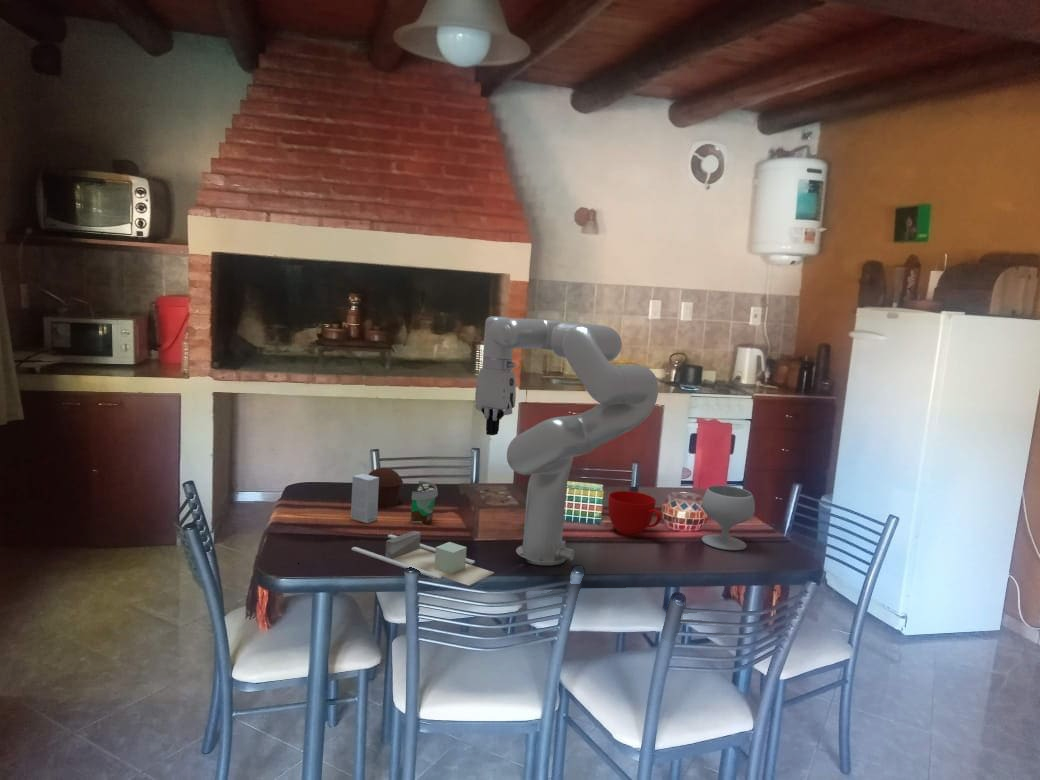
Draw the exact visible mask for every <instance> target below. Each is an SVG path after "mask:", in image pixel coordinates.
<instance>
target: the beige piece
mask: <svg viewBox="0 0 1040 780" xmlns="http://www.w3.org/2000/svg"><path fill="white" fill-rule="evenodd" d="M421 534H422V533H421V532H420V531H416V530H413V531H409V532H407V533H404V534H402V535H399V536H398V535H397V536H398V537H395V538H389V539H388V540H386V542H385V556H384V557H387V558H390V559H393V560H396V561H399V562H402V563H404V564H407V565H410V566H413V567H416V568H419V569H422V570H425V571H428V572H431V573H434V574H437V575H440V576H442V578H445V579H448V580H451V581H454V582H456V583H460V584H462V585H466V586H468V587H469V586H471V585H473V584H475V583H477V582H479V581H481V580H482V579H485V578H487V577H490V576H492V575H493V574H495V572H494V571H490V570H487V569H486V568H485V569H484V568H482V567H479V566H476V565H473V564H470V563H467V562H466V563H465V568H464V569H462V570H460V571H458V572H456V573H454V574H450V573H447V572H444V571H441V570H438V569H435V568H434V565H435V552H433V551H430V550H426V549H423V548H420V544H421ZM491 579H494V576H492V577H490V578H487V579H486V580H484V581H482V582H480V583H478V584H477V585H474V586H472V587H471V589H473V588H476V587H477V586H480V585H481V584H483V583H485V582H487V581H489V580H491Z"/></svg>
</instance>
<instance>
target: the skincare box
mask: <svg viewBox="0 0 1040 780" xmlns="http://www.w3.org/2000/svg"><path fill="white" fill-rule="evenodd" d="M351 482H352V486H351V487H352V488H351V503H350V504H351V505H350V520H354V521H357V522H361V523H364V524H369V523H372V522H375V521H377V520H378V511H379V510H378V509H379V507H378V489H379V477H375V476H371V475H368V474H366V473H361V474H356V475H353V476H352V481H351Z"/></svg>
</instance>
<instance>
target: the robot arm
mask: <svg viewBox="0 0 1040 780" xmlns="http://www.w3.org/2000/svg"><path fill="white" fill-rule="evenodd" d="M484 324H485V325H484V334H483V335H484V338H483V351H482V364H481V365H482V366H481V368H479V372H478V376H477V380H476V387H475V395H474V396H475V397H474V401H475V409H476V410H478V411H480V412H482V414H483V415H484V419H485V420H486V421H485V422H486V424H485V431H486V432H485V433H486V436H487V435H488V436H495V435H498V434H499V430H500V420H502V418H503V417H504V416H509V415H513V409H514V408H515V407H516V401H517V400H516V396H517V395H516V394H517V393H516V392H517V391H516V376H515V371H514V370H512V369H515V368H516V366H517V365H516V362H513V352H514V349H515V350H519V349H521V350H522V349H523V350H524V349H535V350H536V349H538V350H539V349H541V350H549V351H552V352H553V354H555V355H556V356H558V357H560V358H564V359H566V361H567V362H568V364H569V366H570V367H571V369H572V370H573V372H574V373H575V375H576V376H577V378H578V379H579V381H580V383H581V384H582V386H583V387H584V389H585V390H586V391H587V393H588V394H589V396H590V397H591V398H592V399H593V400H594V401H596V402H597V403H599V404H597V405H595V406H594V407H592V408H590V409H588V410H586V411H584V412H582V413H579V414H574V415H573V414H572V415H564V416H563V415H562V416H556V417H551V418H548V419H545V420H543V421H541V422H539V423H537V424H535V425H534V426H532V427H530V428H528V429H526V430H524V431H523V432H521V433H520V434H518V435H516V436H514V438H513V439H512V440H511V441H510V443H509V444H508V446H507V451H506V462H507V463H508V465H509V468H511V470H513V471H514V472H515V473H517V474H518V475H523V476H529V475H530V477H529V480H528V484H527V491H526V501H525V516H524V517H525V518H524V525H523V526H524V527H523V538H522V544H521V545H519V546H518V547H517V548H516V550H515V552H516V554H517V555H518V556H519V557H522V558H525V559H526V560H524V563H526V564H531V565H535V566H547V567H548V566H558V565H560V564H564V563H565V561H566V560H568V561H573V560H574V559H575V550H574V549H572V548H567V546H566V540H563V533H564V532H563V531H564V520H565V510H566V509H565V508H566V500H567V499H566V498H567V489H568V482H569V480H568V479H569V477H570V476H569V475H570V471H571V468H572V464H573V460H574V457H575V458H576V457H579V456H584V455H586V454H588V453H590V452H592V451H594V450H596V449H597V448H599V447H601V446H603V445H605V444H607V443H610V442H611V441H613V440H615V439H617V438H619V437H620V436H622V435H624V434H627V433H628V432H629V431H632V430H633V429H635V428H636V427H638V426H639V425H640V424H642V423H643V422H644V421H645V420H646V419H647V418H648V417H649V416H650V414H651V413H652V411H653V410H654V408H655V406H656V404H657V400H658V395H659V382H658V378H657V376H656V374H655V372H653V371H652V370H651V369H649V368H648V367H646V366H642V365H639V364H611V363H610V362H612V361H614V359H616V358H617V357H618V356H619V355H620V353H621V351H622V349H623V348H622V347H623V345H622V344H623V342H622V338H621V336H620V334H619V332H617V330H615V329H613V328H612V327H609V326H606V325H600V324H599V325H598V324H592V323H581V322H575V321H574V322H573V321H564V320H563V321H559V320H549V319H542V318H539V319H538V318H521V317H520V318H517V317H515V318H511V317H507V316H495V315H494V316H492V315H491V316H489V317H487V318H486V319H485V323H484Z"/></svg>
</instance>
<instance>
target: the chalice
mask: <svg viewBox="0 0 1040 780" xmlns="http://www.w3.org/2000/svg"><path fill="white" fill-rule="evenodd" d="M701 502H702V503H701V505H702V509H703V510H702V511H703V512H704V513H705V514H706V515H707V516H709V517H710V518H711V519H712V520H714V521H716V523H718V525H719V526H720V528H721V533H720V534H717V533H716V534H714V533H713V534H706V535H703V536H702V537H701V542H702V543H704V544H705V545H707V546H710V547H713V548H716V549H719V550H726V551H741V550H745V549H747V547H748V545H747V543H746V542H744V541H743V540H742V539H739V538H737V537H733V536H730V534H729V533H730V530H731V529H732V528H733V527H735V526H736V525H737V526H738V525H739V524H743V523H745V522H747V521H749V520H751V519H752V517H753V516H755V512H756V511H755V510H756V505H755V498H754V495H753V494H752V492H751V491H749V490H747V489H743V488H740V487H736V486H730V485H721V484H720V485H719V484H717V485H711V486H708V488H706V491H705V493H704V494H703V498H702V501H701Z"/></svg>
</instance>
